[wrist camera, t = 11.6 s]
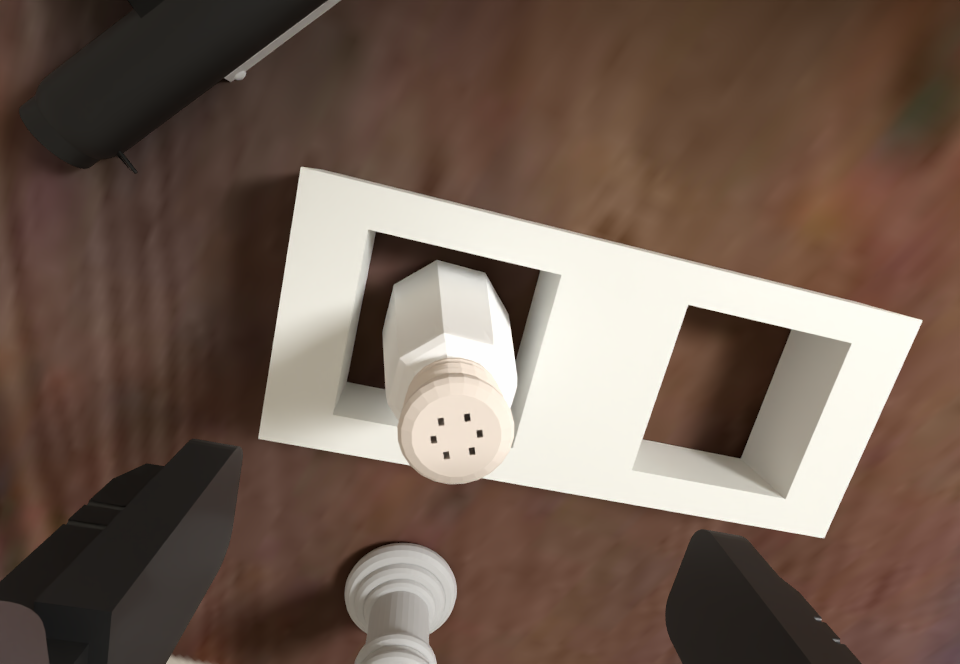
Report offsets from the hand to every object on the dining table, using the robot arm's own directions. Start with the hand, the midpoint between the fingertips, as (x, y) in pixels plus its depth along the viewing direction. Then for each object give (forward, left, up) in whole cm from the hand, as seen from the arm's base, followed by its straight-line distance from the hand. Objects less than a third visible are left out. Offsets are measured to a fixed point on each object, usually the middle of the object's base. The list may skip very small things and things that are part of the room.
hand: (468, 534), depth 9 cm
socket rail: (-6, 0, -15) cm, 16 cm away
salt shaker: (0, 0, -15) cm, 15 cm away
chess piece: (-1, +13, -15) cm, 20 cm away
